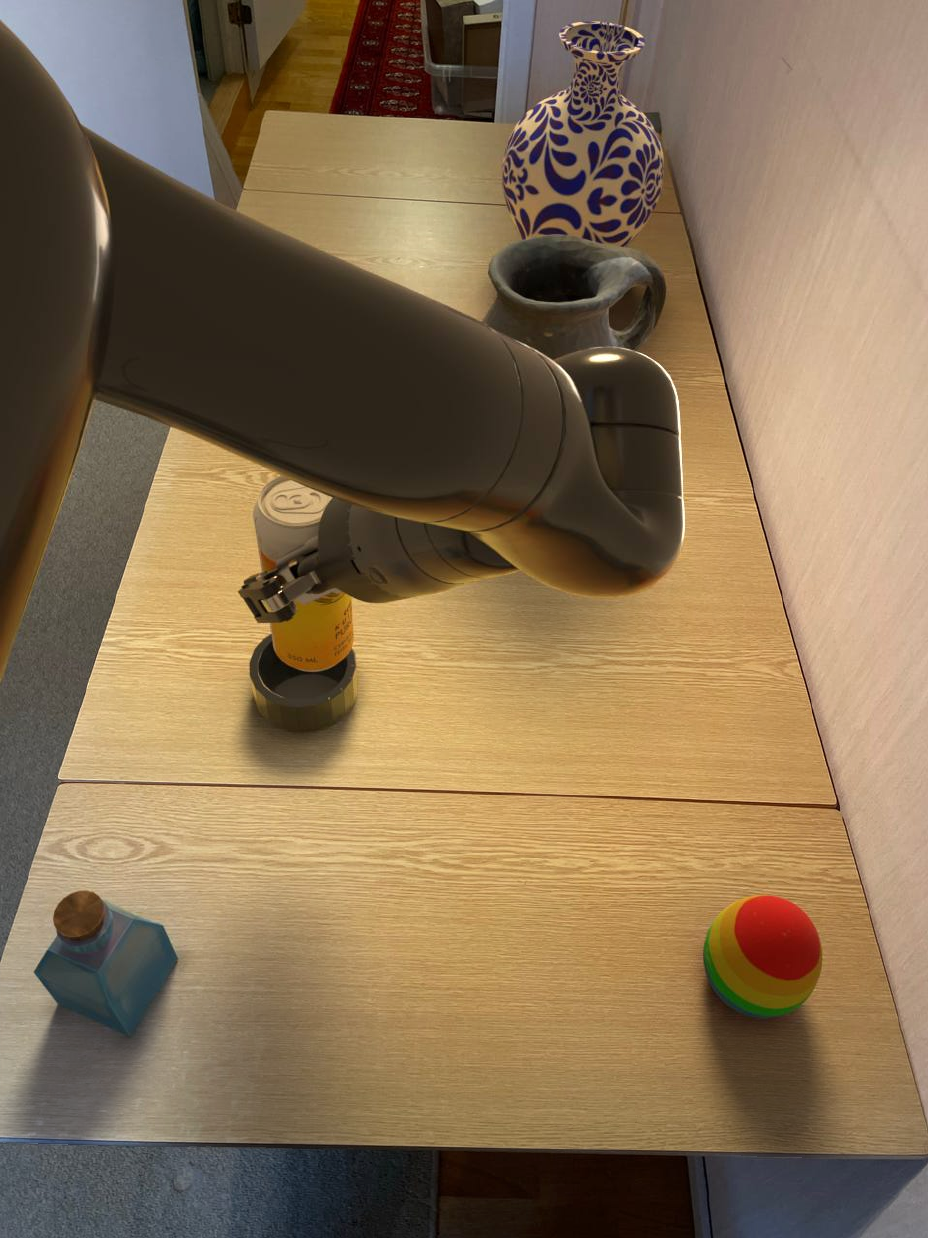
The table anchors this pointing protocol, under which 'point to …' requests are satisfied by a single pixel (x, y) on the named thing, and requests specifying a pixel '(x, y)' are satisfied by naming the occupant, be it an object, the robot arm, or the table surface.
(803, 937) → the striped foam ball
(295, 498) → the beer can
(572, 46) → the vase
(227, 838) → the table surface
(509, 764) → the table surface
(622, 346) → the pitcher
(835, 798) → the table surface
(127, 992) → the perfume bottle
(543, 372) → the robot arm
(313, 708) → the round brown bowl
